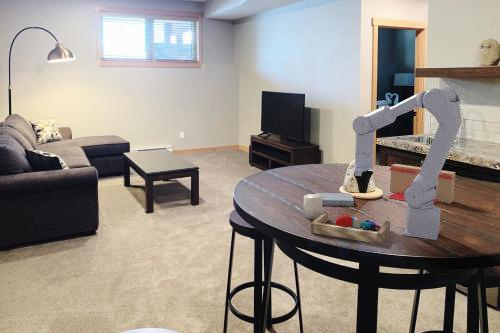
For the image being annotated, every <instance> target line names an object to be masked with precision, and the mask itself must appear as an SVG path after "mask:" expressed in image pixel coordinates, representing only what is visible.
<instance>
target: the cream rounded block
mask: <svg viewBox="0 0 500 333" xmlns="http://www.w3.org/2000/svg"><path fill="white" fill-rule="evenodd" d="M322 202H323V196H321V195H318V194H316V193H308V194H305V195H303V217H304V218H306V219H311V220H315V219H317V218H318V217H319V216H320V215H322V214H323V205H322Z"/></svg>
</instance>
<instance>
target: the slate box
mask: <svg viewBox="0 0 500 333" xmlns="http://www.w3.org/2000/svg"><path fill="white" fill-rule="evenodd" d="M315 194H318V195H321V196H323V202H322V206H339V205H343V207H345V206H346V207H351V206H352V207H353V206H354V205H355V200H354V196H353V195H352V194H353V193H345V192H344V193H341V192H340V193H339V192H337V193H336V192H335V193H334V192H315ZM344 205H345V206H344Z"/></svg>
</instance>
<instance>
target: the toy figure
mask: <svg viewBox="0 0 500 333" xmlns="http://www.w3.org/2000/svg"><path fill="white" fill-rule="evenodd" d="M335 226H341V227H347V228H354V229H360V230H367V231H373V232H378V231H379V230H380V229H381V227H382V226H380V225H379V224H376V222H374V221H370V220H367V219H366V220H365V221H361V220H360V219H359V217H354V216H353V215H341V216H338V217H337V218H336V219H335ZM377 229H378V230H377Z"/></svg>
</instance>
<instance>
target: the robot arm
mask: <svg viewBox="0 0 500 333" xmlns="http://www.w3.org/2000/svg"><path fill="white" fill-rule="evenodd" d="M461 102H462V101H461V98H460V96H459V94H458V93H457V91H456V90H455V89H453V88H451V87H441V88H436V87H435V88H434V87H433V88H430V89H429V88H428V90H426V91H425V90H424V91H422V92H418V93H416V94H414V95H412V96H410V97H409V98H406V99H404V100H403V101H400V102H399V103H397V104H395V105H393V106H390V105H388V104H387V105H385V104H383V105H382V104H381V105H379V106H378V108H377V109H375V110H373V111H368V112H366V114H365V115H358V116H357V117H355V119H354V120H352V129H353V132H354V133H355V147H354V150H355V151H354V164H351V168H353V169H354V171H353V176H354V178H355V180H356V184H357V188H358V193H359V194H366V193H367V192H368V188H369V183H370V181H371V178H372V176H373V174H374V171H373V169H374V165H373V164H374V144H375V143H374V142H375V141H374V140H375V138H374V137H375V133H376V131H377V130H380V129H381V128H384V127H385V126H388V125H391V124H392V123H394V122H395V121H396V119H397V117H399V116H400V115H403V114H406V113H408V112H411V111H413V110H416V109H418V108H419V109H426V111H427V112H429V113H430V114H431V115H432V116H433V117H434V118H435V120H436V121H437V124H438V126H437V130H436V131H435V134H434V136H433V140H432V142H431V143H430V147H429V148H428V151H427V154H426V156H425V158H424V161H423V163H422V166H421V170H420V173H419V175H418V176H417V177H416V178H415V179H414V181H413V182H412V185H411V186H410V187H409V188H408V189H407V190H406V191H405V194H404V198H405V200H404V201H405V202H406V204H407V210H406V211H407V212H406V224H405V225H406V227H405V230H404V231H403V232H402V235H403V236H407V237H411V238H421V239H425V240H433V241H436V240H438V236H439V234H440V232H441V210H442V209H441V208H440V207H437V206H434V203H433V200H434V199H435V198H436V197H437V194H438V190H437V187H438V184H439V181H438V176H439V174H440V172H441V170H442V169H443V167H444V165H445V162H446V160H447V158H448V156H449V153H450V151H451V149H452V147H453V144H454V142H455V139H456V138H457V135H458V132H459V129H460V128H461V125H462V122H463V121H462V113H461V105H460V104H461Z"/></svg>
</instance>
